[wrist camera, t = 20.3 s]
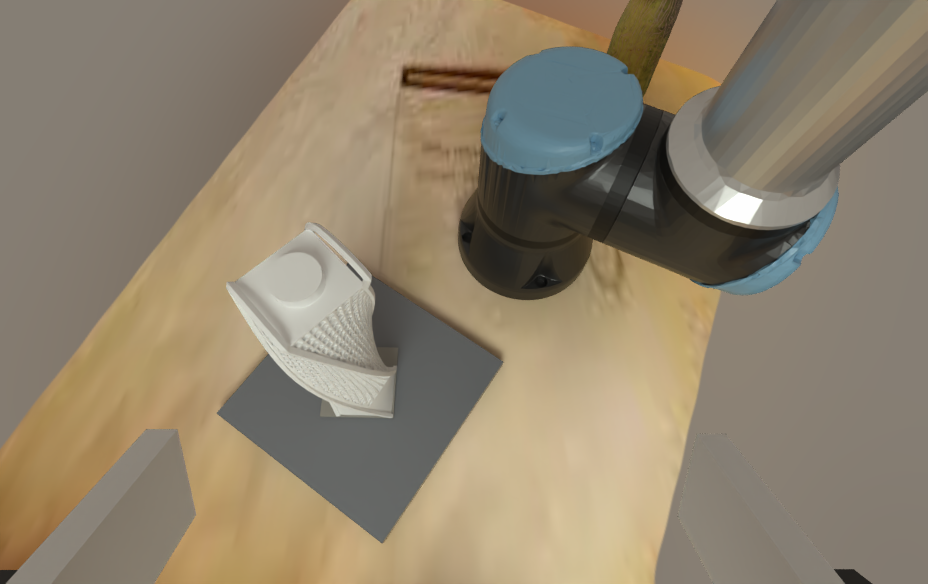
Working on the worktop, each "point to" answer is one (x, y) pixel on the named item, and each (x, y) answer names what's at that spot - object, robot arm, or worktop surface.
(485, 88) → the worktop surface
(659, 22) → the vegetable
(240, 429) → the charcoal board
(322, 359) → the skyscraper
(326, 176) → the worktop surface
